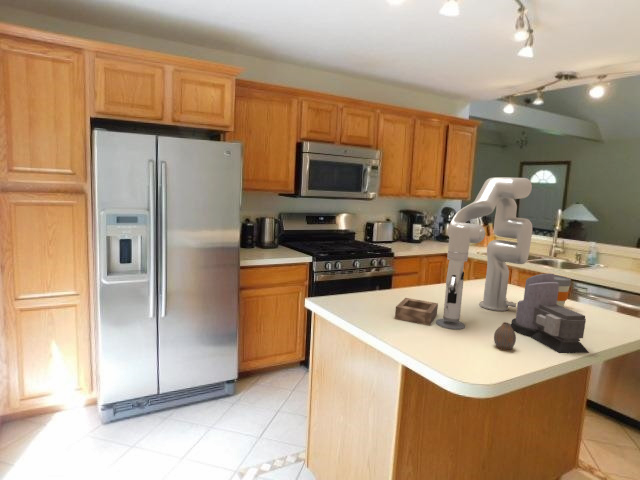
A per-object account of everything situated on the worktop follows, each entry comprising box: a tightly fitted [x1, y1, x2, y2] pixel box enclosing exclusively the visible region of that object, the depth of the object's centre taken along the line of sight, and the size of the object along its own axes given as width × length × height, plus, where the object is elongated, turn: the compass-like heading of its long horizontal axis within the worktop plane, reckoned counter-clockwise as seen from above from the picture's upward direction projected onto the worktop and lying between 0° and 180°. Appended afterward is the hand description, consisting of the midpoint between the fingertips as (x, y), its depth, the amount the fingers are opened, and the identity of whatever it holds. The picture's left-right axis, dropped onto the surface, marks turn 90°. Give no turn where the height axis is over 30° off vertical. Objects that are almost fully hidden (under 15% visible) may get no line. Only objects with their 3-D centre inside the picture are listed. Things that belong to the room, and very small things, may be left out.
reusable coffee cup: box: [554, 274, 572, 308], centre depth 195 cm, size 13×13×15 cm
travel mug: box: [442, 271, 465, 322], centre depth 162 cm, size 6×7×20 cm
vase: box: [493, 322, 517, 351], centre depth 142 cm, size 7×7×9 cm
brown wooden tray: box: [394, 297, 439, 326], centre depth 171 cm, size 14×16×5 cm
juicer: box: [510, 272, 590, 354], centre depth 154 cm, size 30×16×24 cm, turn 11°
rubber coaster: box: [435, 318, 466, 331], centre depth 164 cm, size 11×11×1 cm
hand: (452, 300), depth 162 cm, fingers closed on travel mug, 6 cm apart
